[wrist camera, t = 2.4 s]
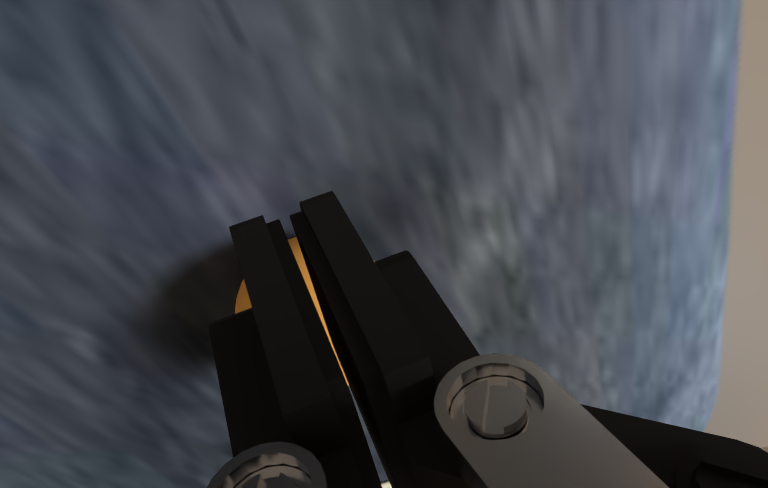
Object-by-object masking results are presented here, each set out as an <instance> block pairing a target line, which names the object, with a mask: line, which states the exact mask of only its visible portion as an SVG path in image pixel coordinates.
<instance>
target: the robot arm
mask: <svg viewBox="0 0 768 488" xmlns="http://www.w3.org/2000/svg"><path fill="white" fill-rule="evenodd" d="M299 203H300V208H301V212H298V213H295V214H292V215H290V219H291V222H292V225H293V228H294V231H295V234H296V237H297V240H298V243H299V246H300V249H301V252H302V255H303V258H304V261H305V264H306V267H307V270H308V273H309V276H310V279H311V282H312V285H313V288H314V291H315V294H316V297H317V300H318V303H319V306H320V309H321V312H322V315H323V318H324V321H325V324H326V327H327V330H328V333H329V336H330V338H331V341H332V344H333V347H334V349H335V352H336V355H337V357H338V359H339V362H340V364H341V367H342V369H343V371H344V374H345V376H346V379H347V381H348V383H349V386H350V388H351V391H352V393H353V395H354V398H355V400H356V403H357V405H358V407H359V410H360V412H361V415H362V417H363V419H364V422H365V424H366V427H367V429H368V432H369V434H370V436H371V439H372V441H373V444H374V446H375V448H376V451H377V453H378V456H379V458H380V460H381V463H382V465H383V468H384V470H385V472H386V475H387V477H388V480H389V482H390V484H391V487H392V488H768V447H763V448H759V447H756V446H753V445H750V444H747V443H744V442H741V441H738V440H735V439H731V438H726V437H722V436H718V435H713V434H708V433H704V432H700V431H696V430H691V429H687V428H683V427H678V426H674V425H669V424H665V423H661V422H656V421H652V420H647V419H643V418H639V417H634V416H630V415H625V414H621V413H617V412H612V411H608V410H604V409H599V408H595V407H590V406H586V405H582V404H579V403H578V402H577V401H576V400H575V399H574V398H573V397H572V396H571V395H570V394H569V393H568V392H567V391H566V390H565V389H564V388H562V387H561V386H560V385H559V384H558V383H557V382H556V381H555V380H554V379H553V378H552V377H551V376H550V375H549V374H548V373H546V372H545V371H544V370H543V369H541V368H540V367H539V366H537V365H536V364H534V363H533V362H531V361H530V360H527V359H524V358H521V357H518V356H515V355H509V354H498V353H494V354H487V355H479V353H478V352H477V350H476V349H475V347H474V346H473V344H472V343H471V341H470V340H469V338H468V337H467V336H466V334H465V333H464V331H463V330H462V328H461V327H460V325H459V324H458V322H457V321H456V319H455V318H454V316H453V315H452V313H451V312H450V311H449V309H448V308H447V306H446V305H445V303H444V302H443V300H442V299H441V297H440V296H439V294H438V293H437V291H436V290H435V288H434V287H433V285H432V284H431V283H430V281H429V280H428V278H427V277H426V275H425V274H424V272H423V271H422V269H421V268H420V266H419V265H418V263H417V262H416V260H415V259H414V258H413V256H412V255H411V254H410V253H409V252H408V251H406V250H405V251H403V252H400V253H397V254H395V255H392V256H389V257H386V258H384V259H381V260H378V261H376V262H374V260H373V259H372V257H371V255H370V254H369V252H368V250H367V249H366V247H365V245H364V243H363V242H362V240H361V238H360V237H359V235H358V233H357V231H356V230H355V228H354V226H353V225H352V223H351V221H350V220H349V218H348V216H347V214H346V213H345V211H344V209H343V208H342V206H341V204H340V202H339V201H338V199H337V197H336V196H335V194H334V193H333V191H330V192H327V193H324V194H321V195H319V196H316V197H313V198H310V199H307V200H304V201H301V202H299ZM229 228H230V232H231V236H232V239H233V243H234V246H235V250H236V253H237V257H238V260H239V264H240V267H241V271H242V274H243V278H244V281H245V285H246V288H247V292H248V295H249V299H250V302H251V306H252V308H249V309H247V310H244V311H241V312H239V313H236V314H233V315H231V316H228V317H225V318H223V319H220V320H217V321H214V322H212V323H210V324H209V331H210V337H211V343H212V348H213V353H214V358H215V364H216V369H217V374H218V379H219V385H220V390H221V395H222V400H223V405H224V411H225V416H226V421H227V426H228V432H229V437H230V442H231V447H232V453H233V458H232V459H231V460H230V461H228V462H227V463H225V464H224V466H223V467H222V468H221V469H220V470H219V471H218V472H217V473H216V475H215V476H214V477H213V478H212V479H211V481H210V483H209V485H208V487H207V488H382V485H381V482H380V479H379V476H378V473H377V470H376V467H375V464H374V461H373V458H372V455H371V452H370V449H369V446H368V443H367V440H366V437H365V434H364V431H363V428H362V425H361V422H360V419H359V416H358V413H357V410H356V407H355V404H354V401H353V399H352V396H351V393H350V390H349V388H348V385H347V382H346V380H345V377H344V375H343V372H342V370H341V367H340V365H339V362H338V360H337V358H336V355H335V353H334V350H333V348H332V346H331V343H330V341H329V338H328V336H327V333H326V331H325V329H324V326H323V324H322V321H321V319H320V317H319V314H318V312H317V309H316V307H315V305H314V302H313V300H312V297H311V295H310V292H309V290H308V288H307V285H306V283H305V280H304V278H303V276H302V273H301V271H300V268H299V266H298V263H297V261H296V259H295V256H294V254H293V251H292V249H291V247H290V244H289V242H288V239H287V237H286V234H285V232H284V230H283V227H282V225H281V222H280V220H279V219H278V220H275V221H272V222H269V223H267V224H266V223H265V220H264V217H263V215H261V216H259V217H256V218H253V219H250V220H247V221H244V222H241V223H239V224H236V225H233V226H230V227H229Z"/></svg>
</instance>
